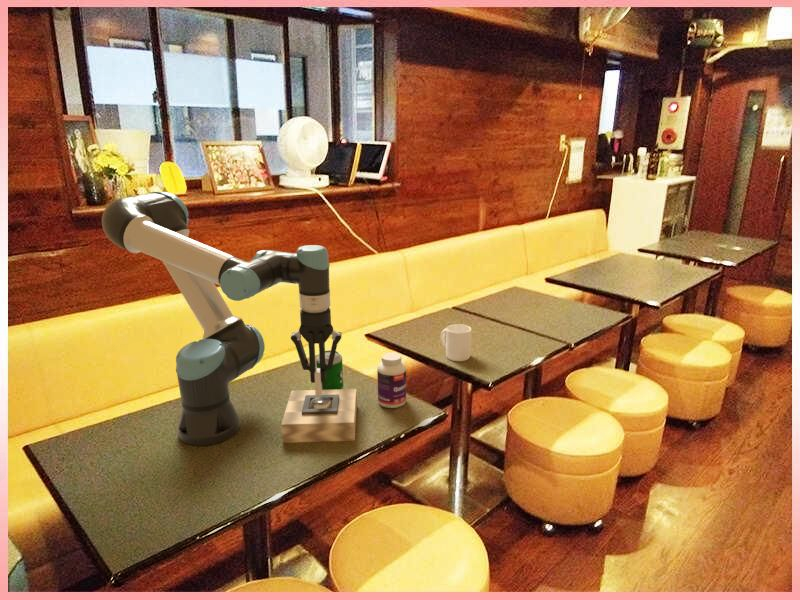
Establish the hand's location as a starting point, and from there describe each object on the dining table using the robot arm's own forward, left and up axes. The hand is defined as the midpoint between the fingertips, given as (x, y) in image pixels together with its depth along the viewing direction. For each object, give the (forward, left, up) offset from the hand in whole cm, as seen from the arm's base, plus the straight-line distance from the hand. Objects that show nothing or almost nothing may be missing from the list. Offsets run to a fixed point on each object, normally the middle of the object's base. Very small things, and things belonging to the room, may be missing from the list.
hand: (318, 392), depth 147 cm
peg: (0, 0, -8) cm, 8 cm away
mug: (+41, +42, -9) cm, 60 cm away
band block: (0, 0, -9) cm, 9 cm away
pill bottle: (+19, +10, -9) cm, 24 cm away
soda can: (+1, +18, -9) cm, 20 cm away
